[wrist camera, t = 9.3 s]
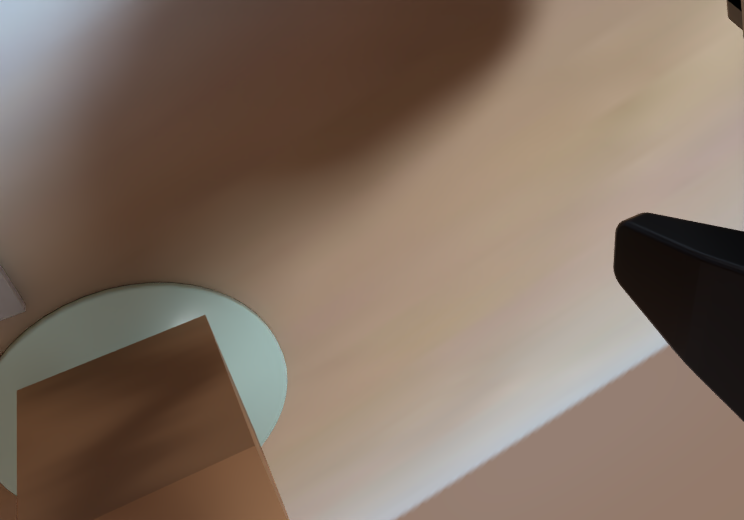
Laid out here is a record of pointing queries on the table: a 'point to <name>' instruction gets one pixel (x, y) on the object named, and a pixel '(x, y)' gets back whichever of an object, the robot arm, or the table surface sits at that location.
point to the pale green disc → (132, 324)
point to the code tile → (9, 298)
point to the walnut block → (143, 438)
